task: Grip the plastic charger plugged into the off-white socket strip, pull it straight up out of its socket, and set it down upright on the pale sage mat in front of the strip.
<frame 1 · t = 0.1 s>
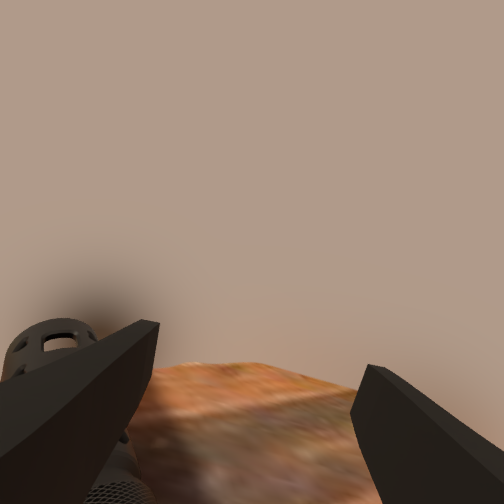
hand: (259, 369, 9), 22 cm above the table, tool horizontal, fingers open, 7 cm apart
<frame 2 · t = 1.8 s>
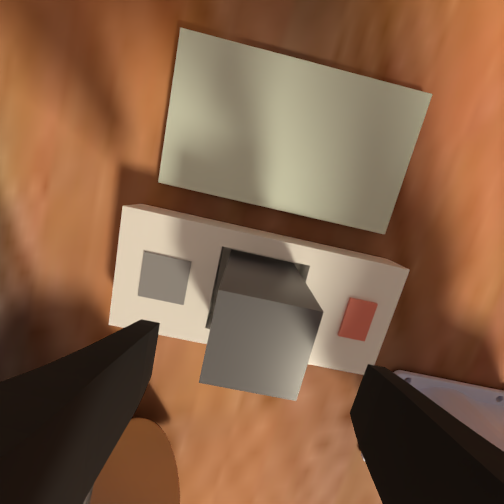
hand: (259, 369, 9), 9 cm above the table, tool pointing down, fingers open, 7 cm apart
sage mat: (289, 141, 16), on the table
socket strip: (255, 283, 17), on the table
muzzle brake: (18, 472, 21), on the table
charger: (255, 285, 17), resting on socket strip
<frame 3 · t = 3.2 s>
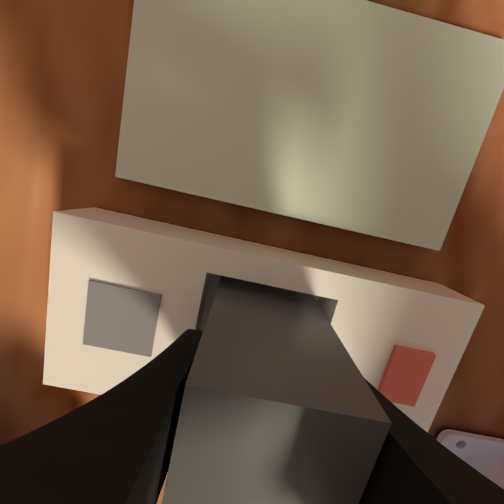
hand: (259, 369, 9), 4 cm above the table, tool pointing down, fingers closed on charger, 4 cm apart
sage mat: (305, 117, 11), on the table
socket strip: (256, 316, 13), on the table
charger: (256, 321, 12), resting on socket strip, touching gripper
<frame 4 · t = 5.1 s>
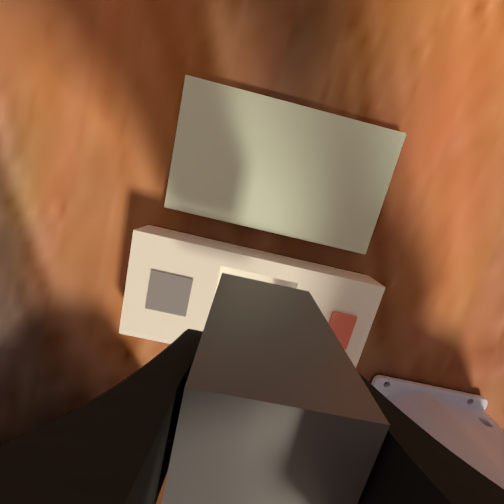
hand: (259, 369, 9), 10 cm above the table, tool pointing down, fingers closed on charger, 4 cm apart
sage mat: (281, 171, 18), on the table
socket strip: (250, 295, 19), on the table
charger: (255, 322, 12), point 7 cm above the table, touching gripper
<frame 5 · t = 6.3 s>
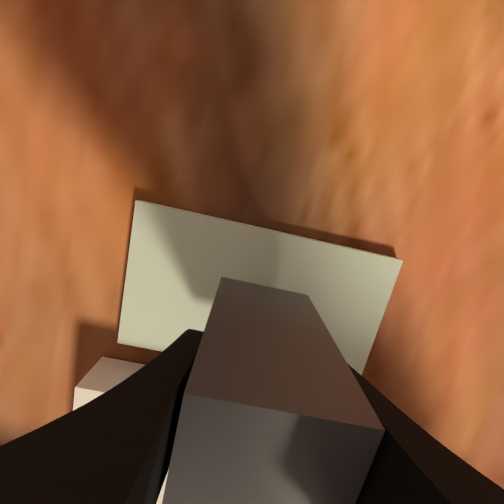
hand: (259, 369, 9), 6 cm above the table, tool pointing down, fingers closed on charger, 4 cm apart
sage mat: (255, 298, 15), on the table
socket strip: (223, 428, 17), on the table
charger: (255, 325, 12), point 3 cm above the table, touching gripper
when the fingers open (5 cm above the table, at t = 7.3 s): charger drops 1 cm, resting on sage mat.
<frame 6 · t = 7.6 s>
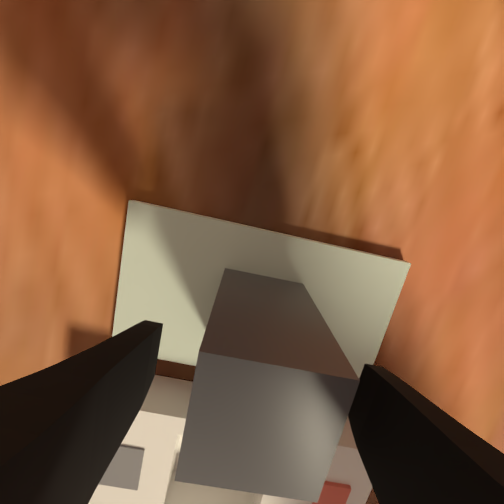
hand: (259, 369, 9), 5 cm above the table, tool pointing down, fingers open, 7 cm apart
sage mat: (255, 303, 14), on the table
socket strip: (222, 437, 16), on the table
charger: (255, 312, 14), point 1 cm above the table, touching sage mat
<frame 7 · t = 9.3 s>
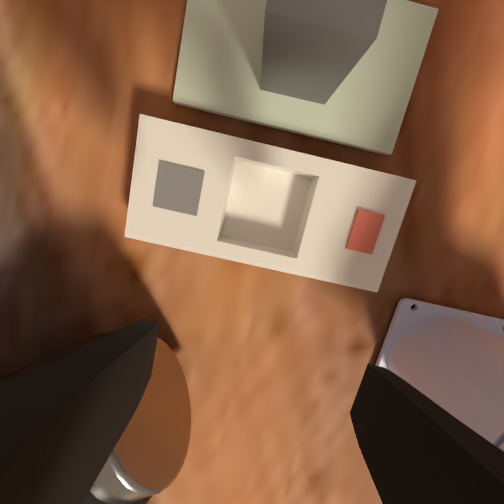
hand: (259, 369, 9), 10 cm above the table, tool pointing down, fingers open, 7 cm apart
sage mat: (299, 61, 16), on the table
socket strip: (264, 207, 18), on the table
muzzle brake: (33, 403, 22), on the table
charger: (300, 60, 16), point 1 cm above the table, touching sage mat
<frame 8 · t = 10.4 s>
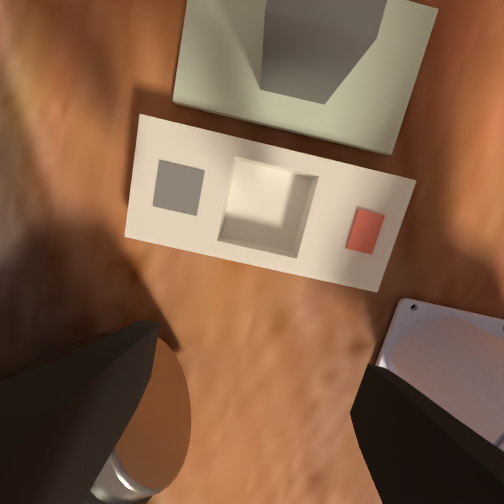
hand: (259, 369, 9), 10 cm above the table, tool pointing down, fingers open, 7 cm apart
sage mat: (299, 61, 16), on the table
socket strip: (264, 207, 18), on the table
muzzle brake: (33, 403, 22), on the table
charger: (300, 60, 16), point 1 cm above the table, touching sage mat
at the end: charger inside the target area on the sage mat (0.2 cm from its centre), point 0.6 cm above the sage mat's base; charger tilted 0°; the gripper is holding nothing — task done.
